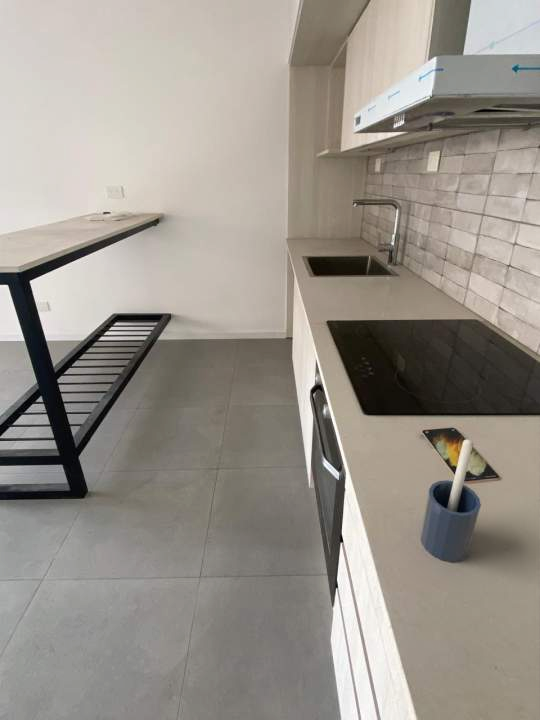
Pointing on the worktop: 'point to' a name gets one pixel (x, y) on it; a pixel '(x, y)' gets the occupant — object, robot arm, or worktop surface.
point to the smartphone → (449, 450)
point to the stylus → (460, 475)
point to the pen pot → (449, 522)
